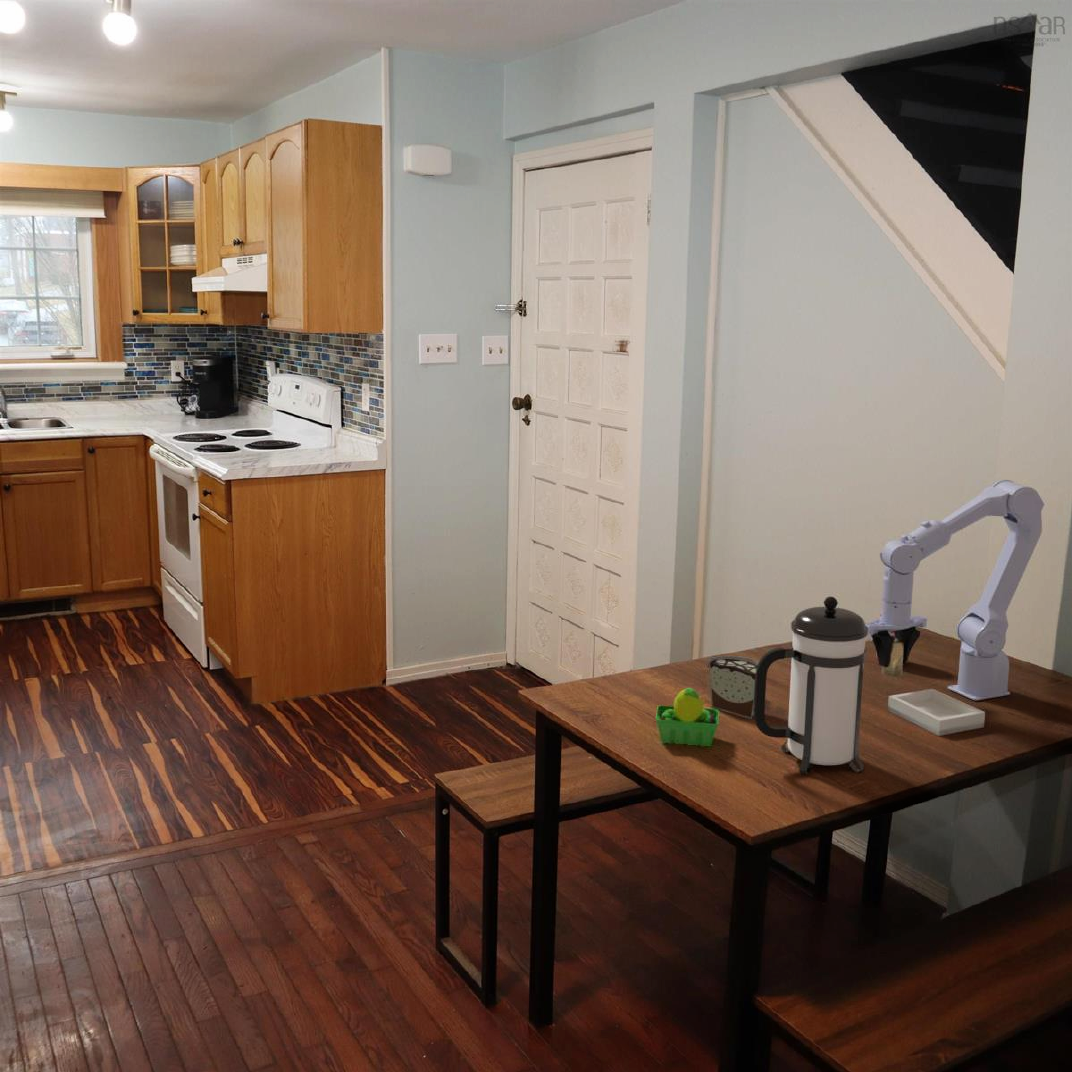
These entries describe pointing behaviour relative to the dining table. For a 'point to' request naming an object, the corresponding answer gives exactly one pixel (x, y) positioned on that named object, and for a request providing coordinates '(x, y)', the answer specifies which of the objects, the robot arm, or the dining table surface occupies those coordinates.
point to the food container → (733, 684)
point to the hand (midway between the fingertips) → (892, 664)
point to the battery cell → (895, 659)
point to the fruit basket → (687, 720)
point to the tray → (936, 712)
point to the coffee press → (820, 687)
